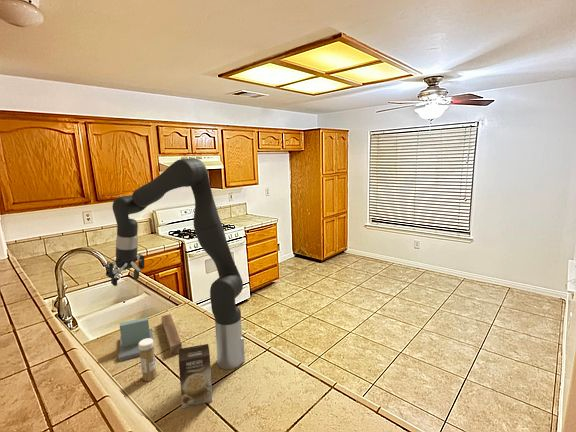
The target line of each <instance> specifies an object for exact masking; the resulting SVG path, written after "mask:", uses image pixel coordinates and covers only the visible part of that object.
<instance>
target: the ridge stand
mask: <svg viewBox="0 0 576 432" xmlns="http://www.w3.org/2000/svg"><path fill="white" fill-rule="evenodd" d="M149 323H150V322H149V317H148V316H146V317H142V318H137V319H133V320H129V321H128V320H127V321H124V322H120V323H119V332H120V339H119V348H118V359H117V360H118V362H122V361H126V360H131V359H133V358H137V357H140V350H139V346H138V344H139V342H140V341H141V340H143V339H146V338H151V339H153V340H154V336H153V328H150V325H149ZM153 349H154V350H155V347H154V345H153Z"/></svg>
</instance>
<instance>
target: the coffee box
mask: <svg viewBox="0 0 576 432" xmlns="http://www.w3.org/2000/svg"><path fill="white" fill-rule="evenodd" d="M210 354H211V353H210V347H209V343H205V344H200V345H193V346H188V347H182V348H181V349H179V353H178V370H179V381H180V382H179V384H180V396H181V397H180V398H181V400H180V401H181V409H185V408H189V407H194V405H195V406H198V405H199V406H200V405H202V404H207V403H211V402H213V392H212V391H213V390H212V388H213V387H212V376H211V375H212V372H211V355H210Z"/></svg>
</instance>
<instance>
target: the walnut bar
mask: <svg viewBox="0 0 576 432" xmlns="http://www.w3.org/2000/svg"><path fill="white" fill-rule="evenodd" d="M161 326H162V330H163V332H164V336H165V338H166V339H165V340H166V341H167V345H168V349H169V352H170V355H171V356H174V355H178V354H179V349H181V348H183V345H182V340H181V338H180V336H179V333H178V329H177V327H176V325H175V322H174V319H173V317H172V314H171V313H169V314H166V315H162V316H161Z"/></svg>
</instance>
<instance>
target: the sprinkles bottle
mask: <svg viewBox="0 0 576 432" xmlns="http://www.w3.org/2000/svg"><path fill="white" fill-rule="evenodd" d="M153 345H154V338H153V339H151V338H146V339H143V340H141V341H140V342H139V344H138V346H139V350H140V356H139V358H140V365H141V366H140V368H141V373H142V381H145V382H149V381H152V380H154V379H155V378H156V377H157V366H156V358H155V348H154V349H153Z"/></svg>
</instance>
